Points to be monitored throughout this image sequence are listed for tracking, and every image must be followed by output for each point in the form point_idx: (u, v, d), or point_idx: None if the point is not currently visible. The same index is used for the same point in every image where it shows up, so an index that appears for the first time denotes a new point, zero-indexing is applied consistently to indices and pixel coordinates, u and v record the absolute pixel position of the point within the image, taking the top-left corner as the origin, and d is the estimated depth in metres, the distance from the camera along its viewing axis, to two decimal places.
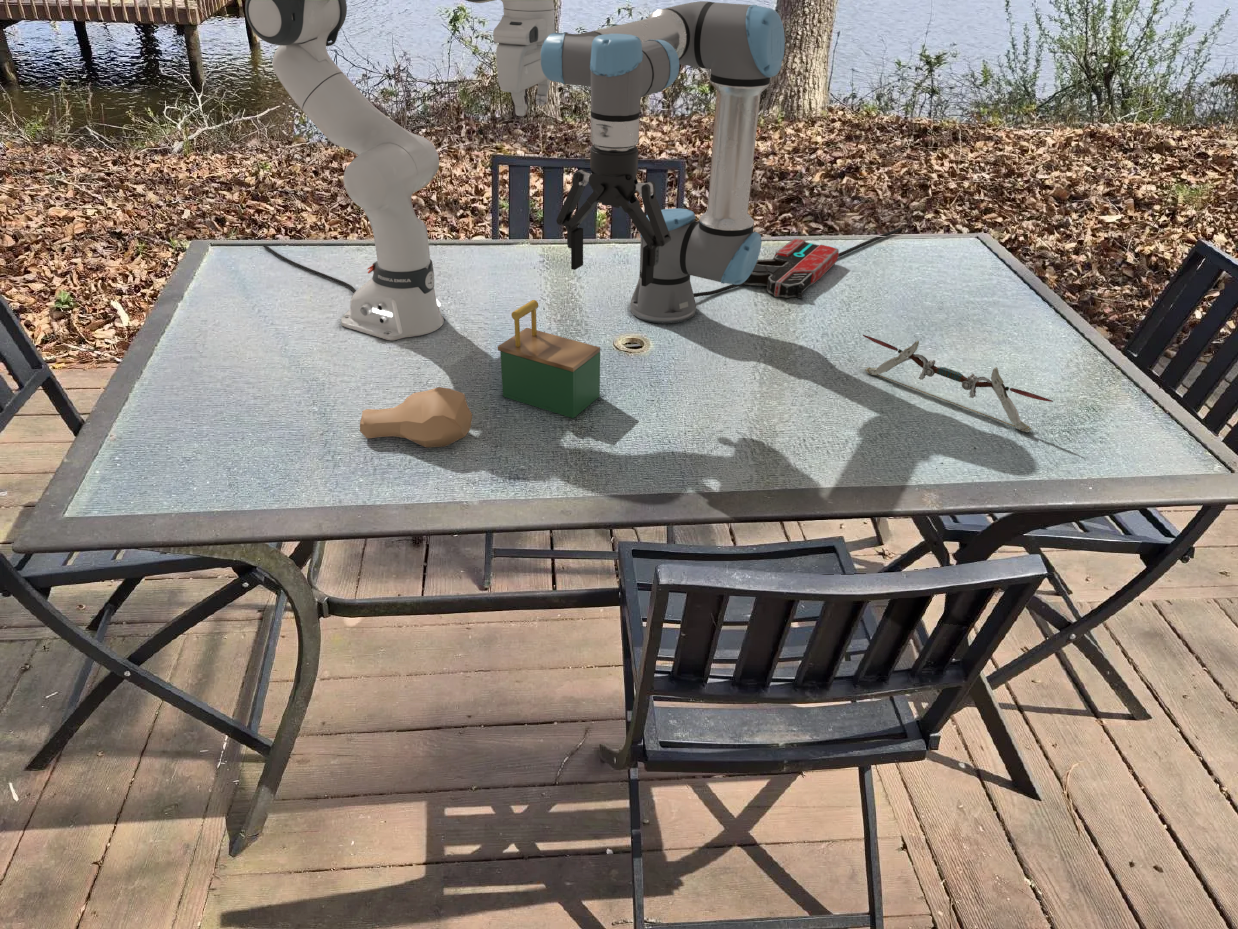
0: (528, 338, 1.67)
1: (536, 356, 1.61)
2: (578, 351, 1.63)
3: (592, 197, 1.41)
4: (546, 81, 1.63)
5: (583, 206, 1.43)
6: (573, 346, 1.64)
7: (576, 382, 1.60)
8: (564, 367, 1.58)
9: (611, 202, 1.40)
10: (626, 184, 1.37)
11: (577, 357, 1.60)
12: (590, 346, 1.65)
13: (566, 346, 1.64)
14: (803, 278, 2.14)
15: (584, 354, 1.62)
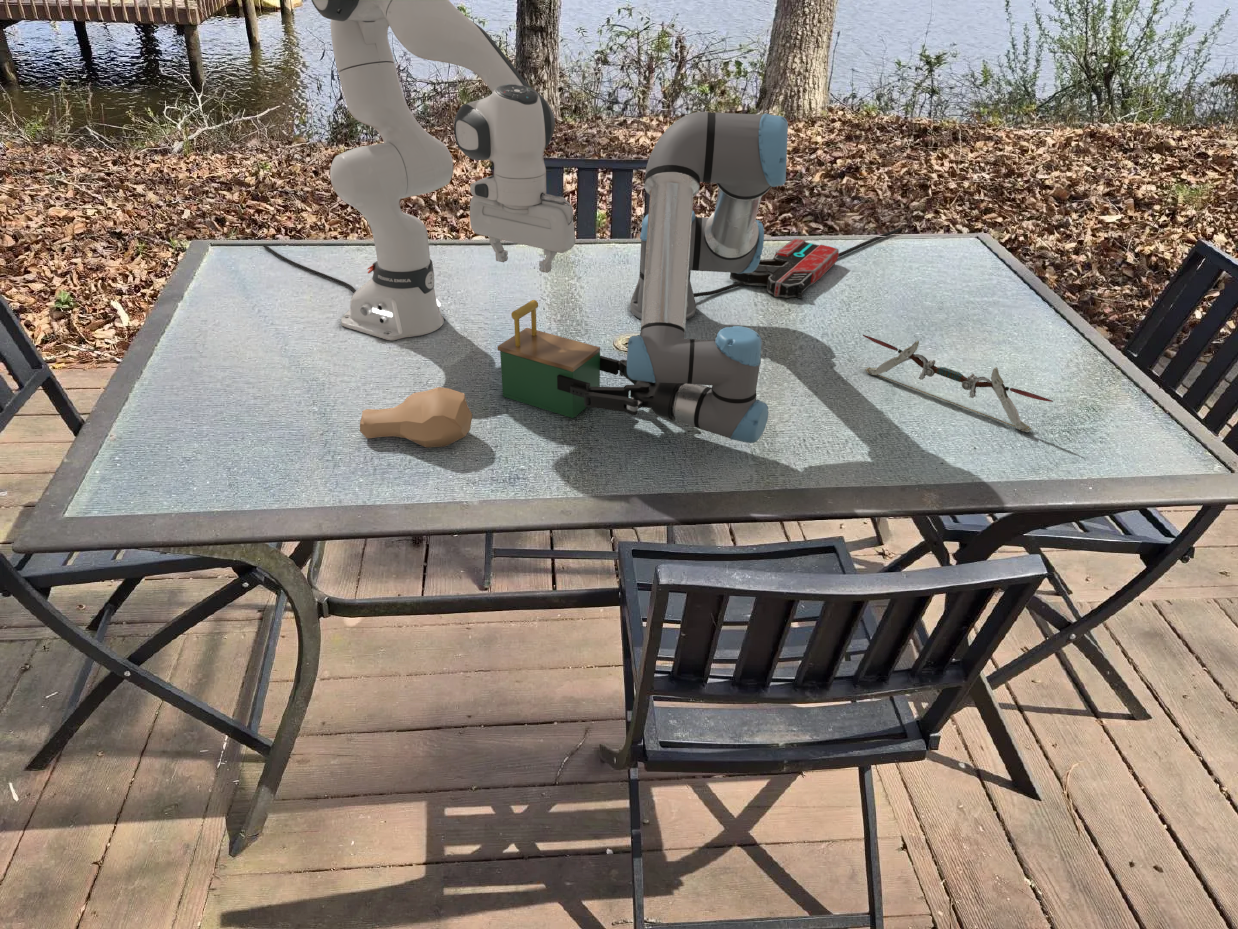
0: (528, 338, 1.67)
1: (536, 356, 1.61)
2: (578, 351, 1.63)
3: None
4: None
5: None
6: (573, 346, 1.64)
7: None
8: (564, 367, 1.58)
9: None
10: None
11: (577, 357, 1.60)
12: (590, 346, 1.65)
13: (566, 346, 1.64)
14: (803, 278, 2.14)
15: (584, 354, 1.62)
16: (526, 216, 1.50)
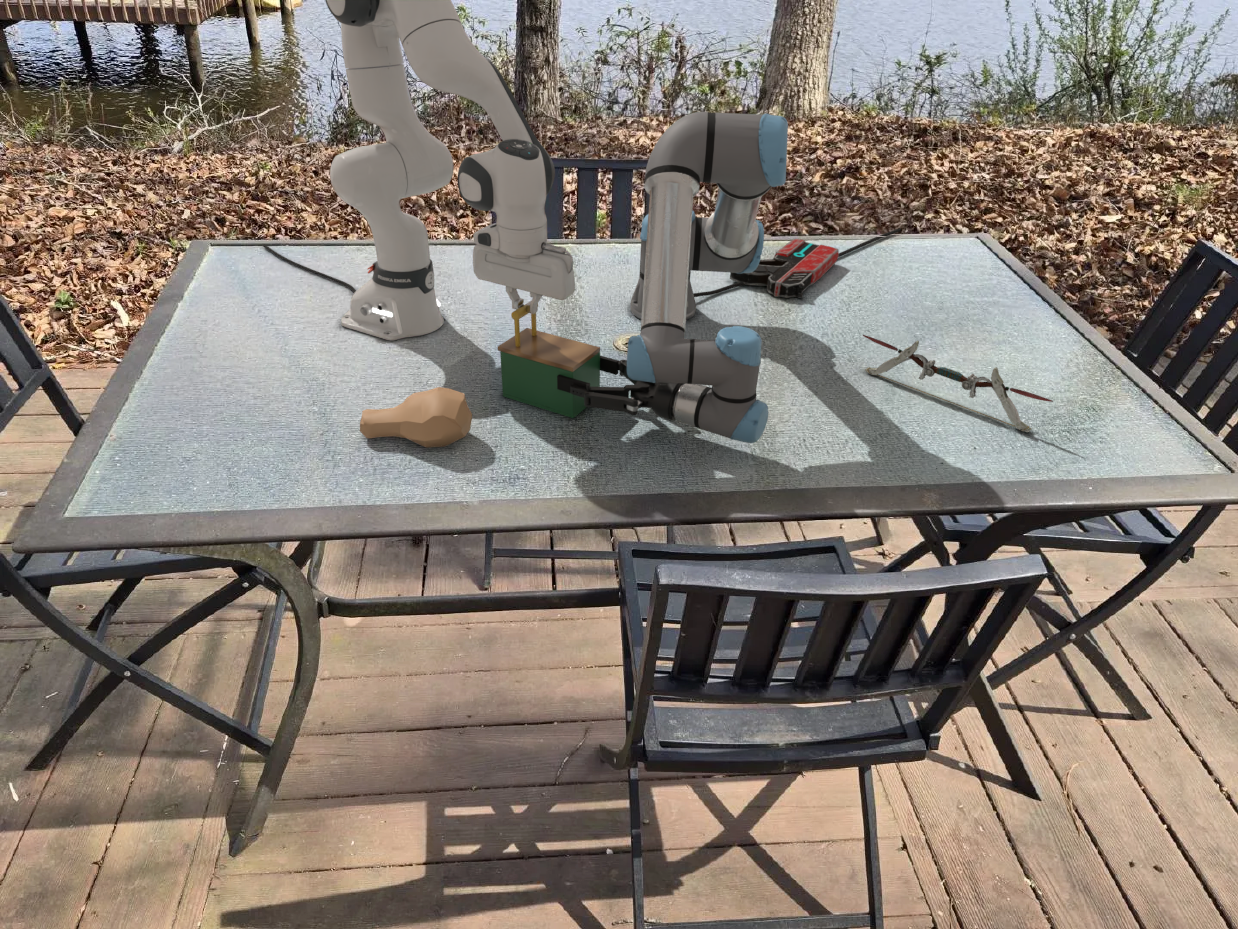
0: (528, 338, 1.67)
1: (536, 356, 1.61)
2: (578, 351, 1.63)
3: None
4: None
5: None
6: (573, 346, 1.64)
7: None
8: (564, 367, 1.58)
9: None
10: None
11: (577, 357, 1.60)
12: (590, 346, 1.65)
13: (566, 346, 1.64)
14: (803, 278, 2.14)
15: (584, 354, 1.62)
16: (527, 264, 1.55)
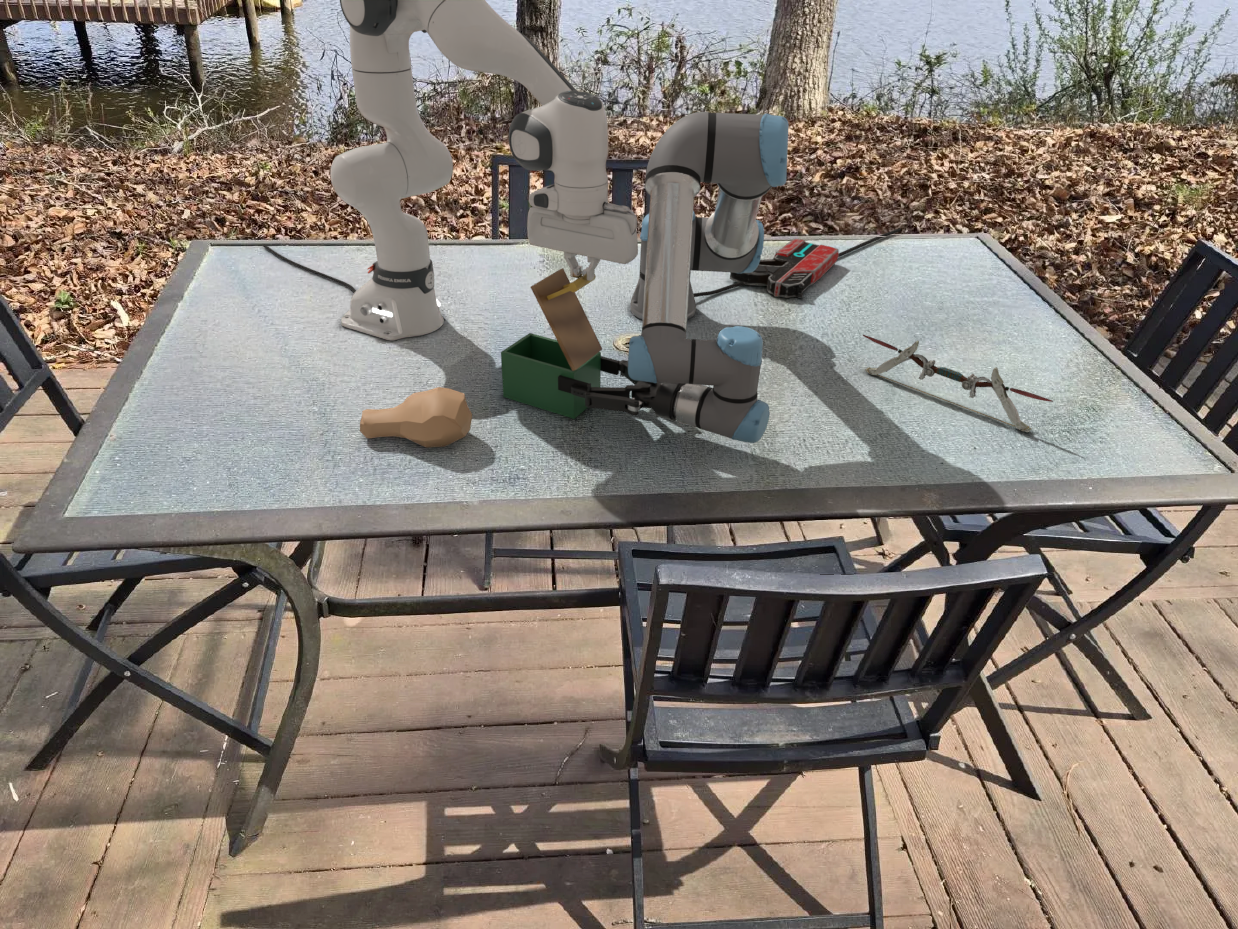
0: (559, 289, 1.58)
1: (556, 328, 1.55)
2: (586, 344, 1.61)
3: None
4: None
5: None
6: (585, 332, 1.61)
7: None
8: (569, 361, 1.57)
9: None
10: None
11: (583, 355, 1.59)
12: (596, 342, 1.63)
13: (581, 328, 1.60)
14: (803, 278, 2.14)
15: (589, 352, 1.61)
16: (587, 226, 1.45)
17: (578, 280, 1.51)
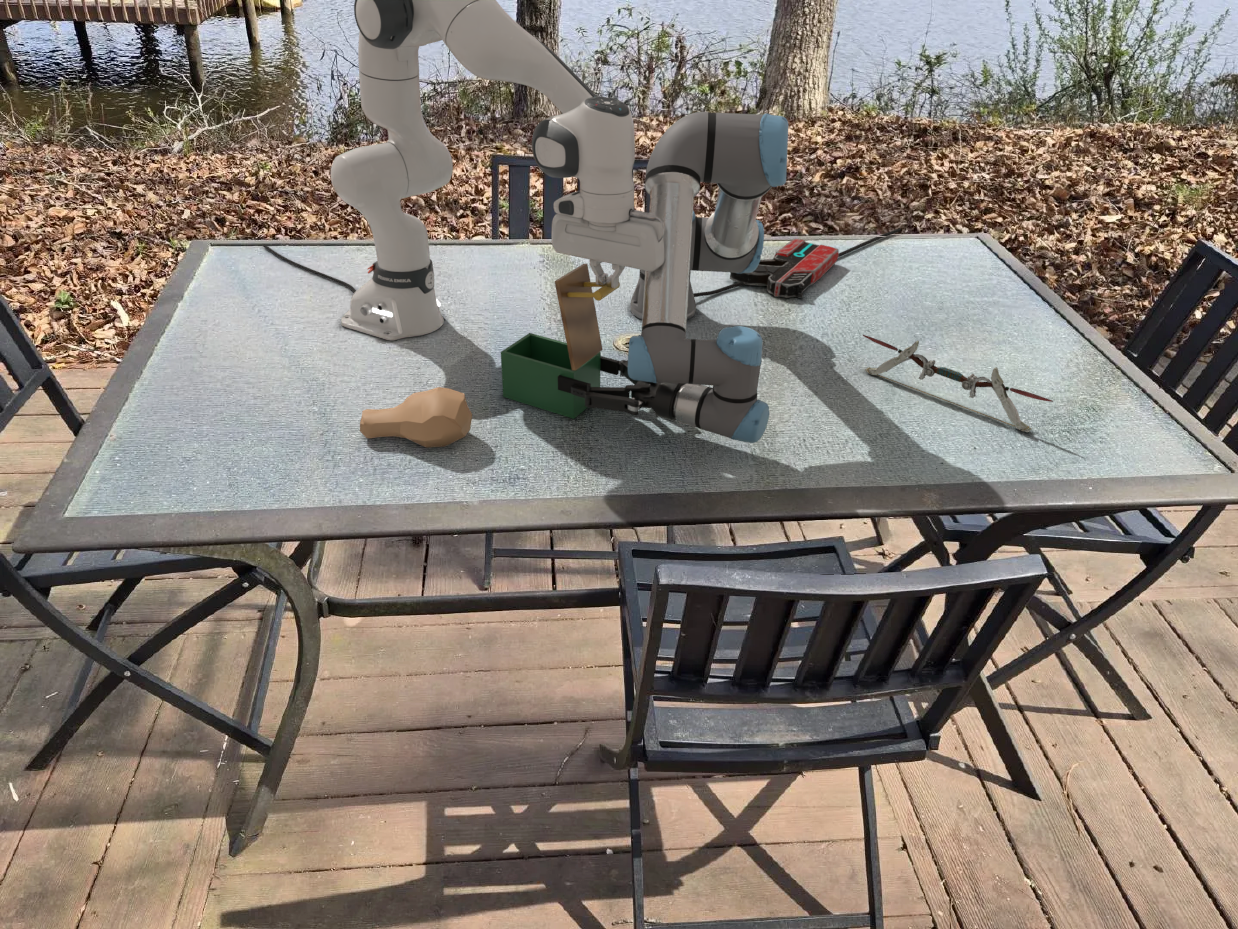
0: (579, 286, 1.55)
1: (568, 327, 1.54)
2: (590, 344, 1.60)
3: None
4: None
5: None
6: (592, 332, 1.61)
7: None
8: (572, 361, 1.56)
9: None
10: None
11: (585, 355, 1.59)
12: (599, 342, 1.63)
13: (589, 327, 1.59)
14: (803, 278, 2.14)
15: (590, 353, 1.61)
16: (613, 233, 1.44)
17: (604, 289, 1.50)
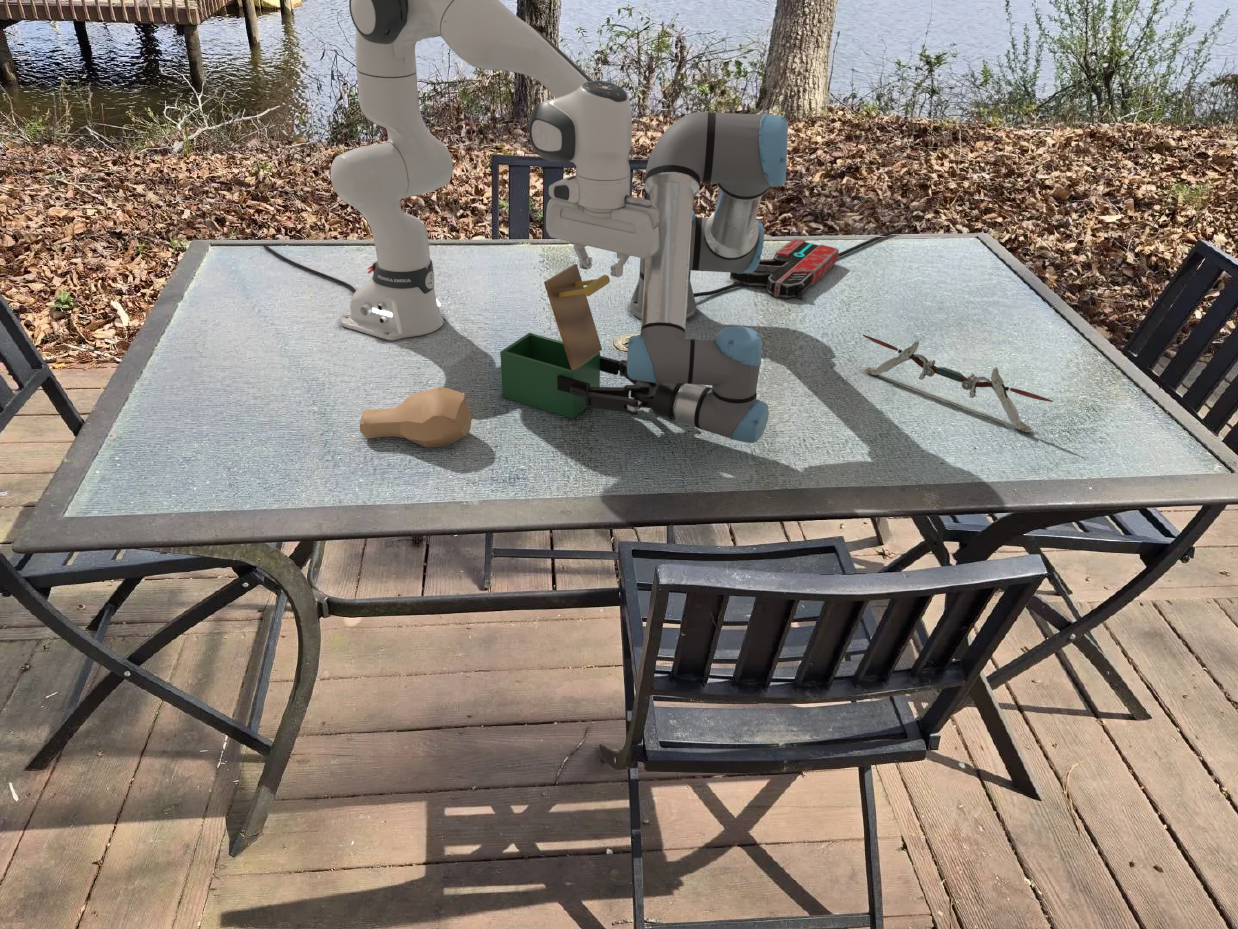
0: (570, 286, 1.56)
1: (563, 326, 1.54)
2: (588, 343, 1.61)
3: None
4: None
5: None
6: (589, 331, 1.61)
7: None
8: (570, 360, 1.57)
9: None
10: None
11: (583, 355, 1.59)
12: (597, 342, 1.63)
13: (585, 327, 1.60)
14: (803, 278, 2.14)
15: (589, 353, 1.61)
16: (608, 220, 1.43)
17: (593, 284, 1.50)
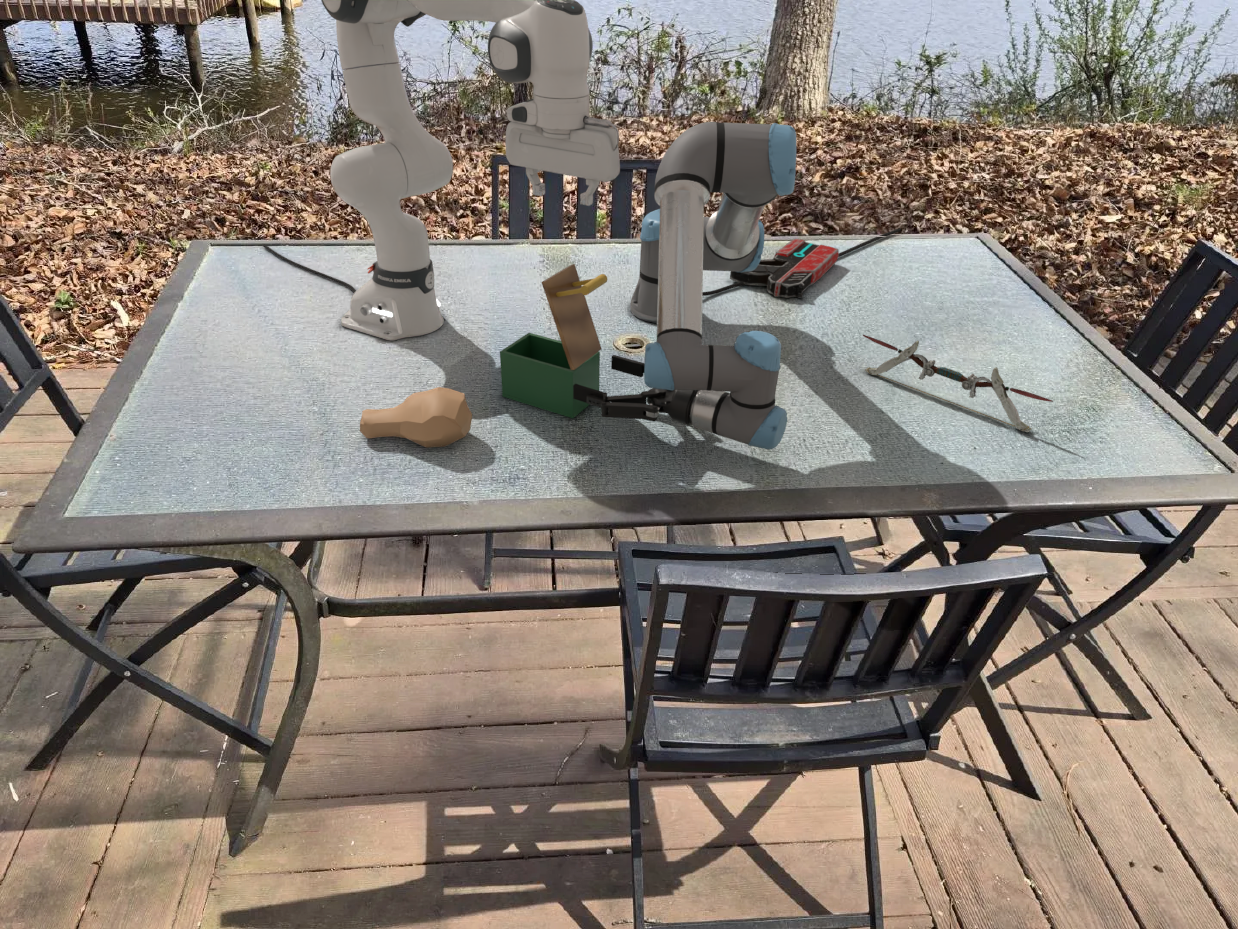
0: (568, 286, 1.56)
1: (561, 326, 1.54)
2: (587, 343, 1.61)
3: None
4: None
5: None
6: (588, 331, 1.61)
7: (576, 382, 1.60)
8: (569, 360, 1.57)
9: None
10: None
11: (582, 354, 1.59)
12: (597, 341, 1.63)
13: (584, 327, 1.60)
14: (803, 278, 2.14)
15: (589, 352, 1.61)
16: (567, 142, 1.40)
17: (591, 283, 1.50)
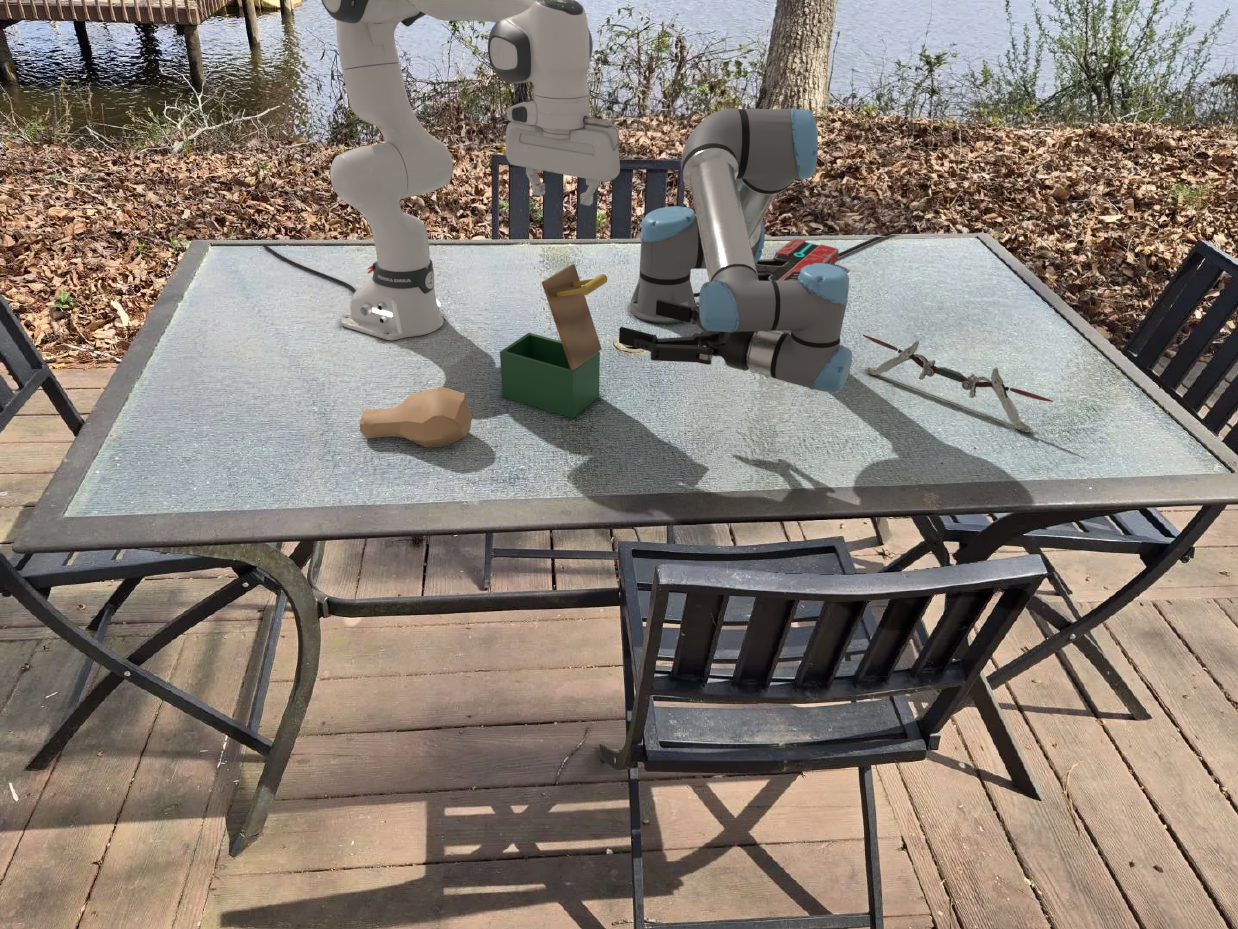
0: (568, 286, 1.56)
1: (561, 326, 1.54)
2: (587, 343, 1.61)
3: None
4: None
5: None
6: (588, 331, 1.61)
7: (576, 382, 1.60)
8: (569, 360, 1.57)
9: None
10: None
11: (583, 354, 1.59)
12: (597, 341, 1.63)
13: (584, 327, 1.60)
14: None
15: (589, 352, 1.61)
16: (567, 142, 1.40)
17: (591, 283, 1.50)
